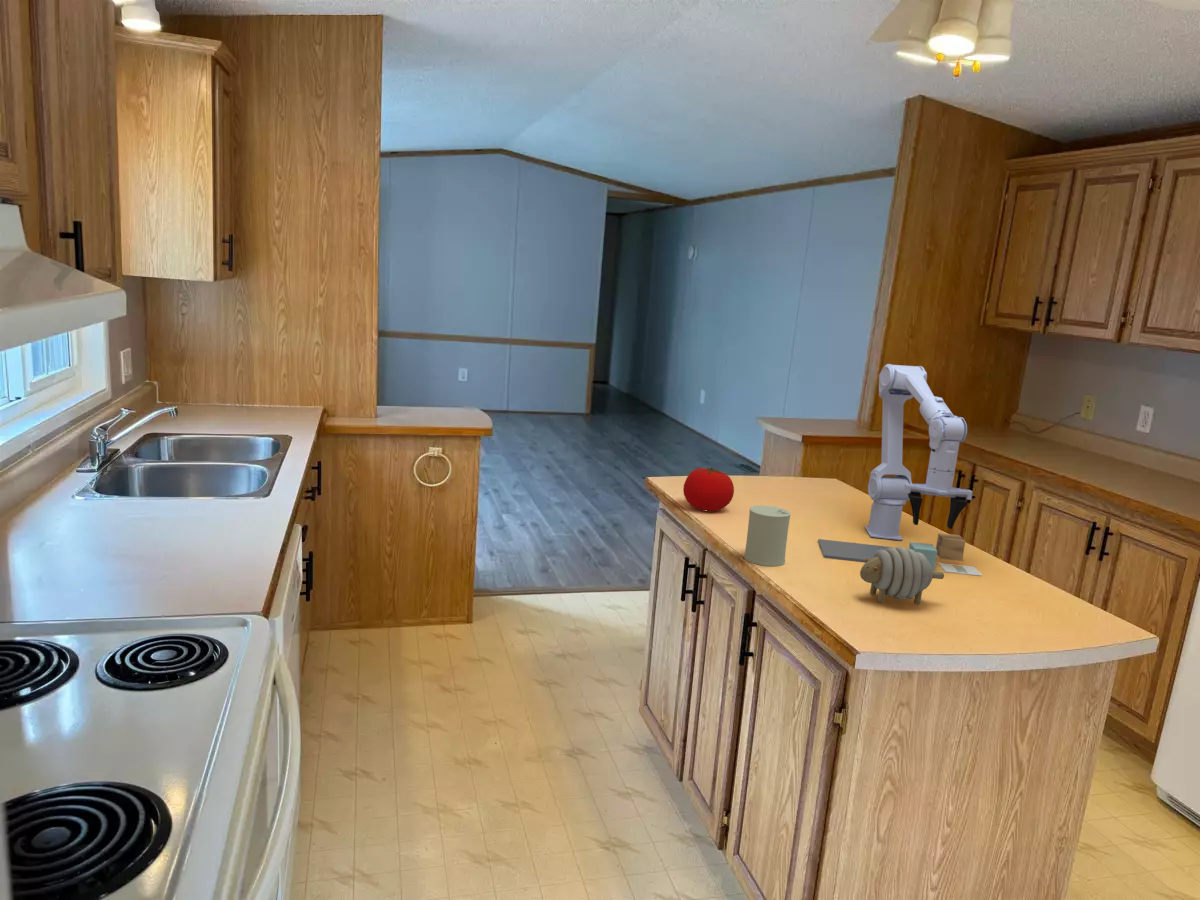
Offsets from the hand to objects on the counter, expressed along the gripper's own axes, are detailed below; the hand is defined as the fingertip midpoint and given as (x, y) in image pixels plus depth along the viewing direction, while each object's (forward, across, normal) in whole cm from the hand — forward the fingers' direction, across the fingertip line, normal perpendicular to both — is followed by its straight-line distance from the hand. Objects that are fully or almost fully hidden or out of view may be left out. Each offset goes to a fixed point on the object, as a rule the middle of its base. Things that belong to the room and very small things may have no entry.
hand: (932, 525), depth 193 cm
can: (+9, -38, -12) cm, 41 cm away
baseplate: (+9, -15, +2) cm, 18 cm away
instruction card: (+9, +7, -2) cm, 12 cm away
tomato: (+10, -52, +27) cm, 60 cm away
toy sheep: (+9, -12, -28) cm, 32 cm away
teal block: (+9, -2, -3) cm, 10 cm away
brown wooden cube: (+9, +7, +8) cm, 14 cm away
